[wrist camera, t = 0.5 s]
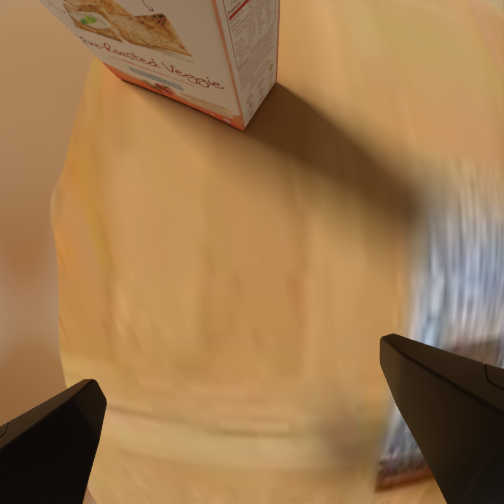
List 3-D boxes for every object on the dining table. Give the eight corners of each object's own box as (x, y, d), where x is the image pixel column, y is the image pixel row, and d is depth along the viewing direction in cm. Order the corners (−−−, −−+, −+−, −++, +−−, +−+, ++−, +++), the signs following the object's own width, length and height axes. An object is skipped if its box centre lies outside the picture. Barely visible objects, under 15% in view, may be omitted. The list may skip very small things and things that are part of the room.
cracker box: (116, 82, 23) (-26, -49, 2) (152, 36, 23) (55, -114, 2) (242, 138, 23) (167, -121, 2) (279, 82, 22) (287, -155, 2)
